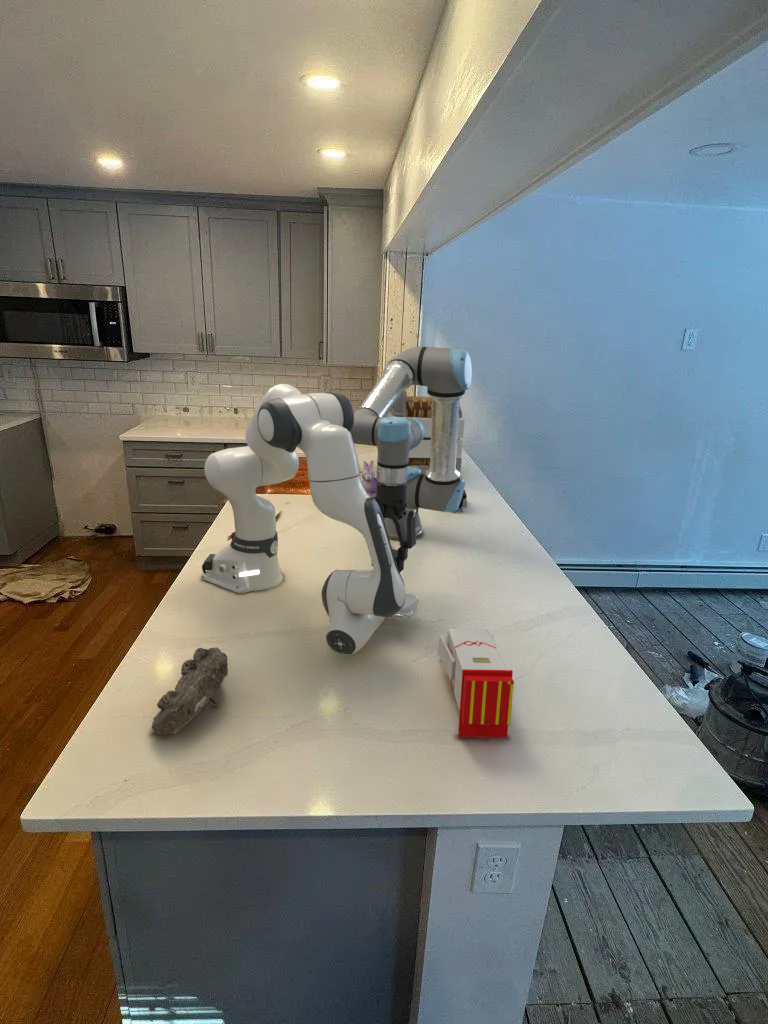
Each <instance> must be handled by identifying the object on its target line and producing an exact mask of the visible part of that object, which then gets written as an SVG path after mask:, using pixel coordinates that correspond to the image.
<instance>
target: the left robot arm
mask: <svg viewBox="0 0 768 1024" xmlns="http://www.w3.org/2000/svg"><path fill="white" fill-rule="evenodd" d="M354 413H355V411H354V407H353V405H352V403H351V401H350V399H349V398H348V397H347V396H346V395H345V394H343V393H339V392H333V391H326V392H307V393H302V392H301V391H300V390H299V389H298V388H297V387H296V386H293V385H291V384H287V383H278V384H276V385H273V386H272V387H270V388H269V389H268V391H266V393H265V394H264V395H263V397H262V398H261V400H260V401H259V402H258V404H257V406H256V408H255V409H254V411H253V413H252V416H251V418H250V420H249V423H248V424H247V425H248V426H247V427H246V430H245V442H246V445H247V446H245V445H244V446H238V447H237V446H236V447H229V448H228V447H227V448H225V449H221V450H218V451H216V452H213V453H210V454H209V455H208V456H207V458H206V460H205V462H204V469H203V471H204V476H205V479H206V481H207V483H208V484H209V485H210V486H211V487H212V488H213V489H214V490H216V491H218V492H219V493H221V494H222V495H224V497H226V499H227V500H228V502H229V503H230V506H231V508H232V514H233V519H234V520H233V521H234V531H233V532H232V533H231V534H230V535H228V536H226V538H227V540H226V541H227V542H228V541H230V543H229V544H228V545H227V546H225V547H223V548H222V549H221V550H220V551H219V552H217V553H209V555H208V556H207V557H206V558H205V559H204V561H203V563H202V565H201V570H202V573H203V578H202V579H203V580H204V581H206V582H209V583H211V584H214V585H216V586H219V587H222V588H224V589H226V590H230V591H232V592H234V593H237V594H244V593H245V594H246V593H249V592H253V591H254V592H255V591H264V590H268V589H271V588H274V587H276V586H278V585H279V584H281V582H282V581H283V579H284V576H283V574H282V570H281V567H280V561H279V556H278V551H279V537H278V531H277V522H276V521H277V519H276V516H277V514H276V509H275V506H274V504H273V503H272V502H271V501H270V500H268V499H266V498H265V497H262V496H258V494H257V491H256V490H257V488H258V487H264V486H270V485H277V484H280V483H284V482H286V481H289V480H291V479H293V478H295V477H296V475H297V473H298V472H299V468H300V458H299V455H298V452H297V451H296V449H297V448H298V449H300V450H301V451H302V452H303V453H304V456H305V459H306V465H307V473H308V474H307V477H308V485H309V491H310V496H311V499H312V502H313V504H314V506H315V507H316V509H317V510H318V511H319V512H320V513H322V514H323V515H325V516H326V517H328V518H330V519H332V520H334V521H337V522H341V523H342V524H345V525H348V526H349V527H351V528H353V529H355V530H356V531H358V533H360V534H361V535H362V538H364V540H365V543H366V546H367V550H368V552H369V556H370V560H371V565H372V564H373V566H372V567H373V570H362V569H361V570H358V569H334V570H333V571H332V572H330V574H329V575H328V576H327V577H326V580H325V581H324V582H323V586H322V587H321V602H322V606H323V608H324V611H325V612H326V615H327V617H328V625H327V627H326V631H325V641H326V644H327V646H328V647H329V648H330V649H331V650H332V651H333V652H335V653H337V654H339V655H345V656H350V655H353V654H356V653H358V652H359V651H360V650H361V649H362V648H363V647H364V646H365V645H366V644H367V643H368V641H370V639H371V637H372V636H373V634H374V632H375V631H377V629H378V628H379V627H380V626H381V624H382V623H383V621H384V620H385V618H387V619H389V618H392V619H397V620H404V621H405V620H407V619H410V618H411V617H412V616H413V615H414V614H415V613H416V612H417V610H418V607H419V599H418V598H419V597H418V596H417V595H414V594H410V593H407V592H406V586H405V582H404V579H403V577H402V573H401V572H399V570H398V567H397V564H396V561H395V557H394V554H393V550H392V549H393V546H392V543H391V539H390V538H389V536H388V532H387V528H386V525H385V522H384V518H383V515H382V512H381V510H380V507H379V505H378V503H377V502H376V501H375V499H373V498H370V497H369V495H368V494H367V492H366V491H365V489H364V487H363V484H362V481H363V480H362V476H361V470H360V463H359V458H358V454H357V450H356V446H355V444H354V442H353V439H352V436H351V434H350V431H351V429H352V427H353V423H354Z"/></svg>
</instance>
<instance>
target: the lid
mask: <svg viewBox="0 0 768 1024" xmlns="http://www.w3.org/2000/svg"><path fill="white" fill-rule="evenodd" d="M392 550H393V554H394V557H395V561H396V563H397V552H398V549H395V548H392Z"/></svg>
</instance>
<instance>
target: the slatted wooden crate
mask: <svg viewBox="0 0 768 1024" xmlns="http://www.w3.org/2000/svg"><path fill="white" fill-rule="evenodd" d="M407 394H408V393H407V389H406V390H403V392H402V393H401V395H400V396H399V398H398V399H397V401H396V402H395V404H394V405H393V407H392V408H391V410H390V411H389V413H388V414H387V416H386V417H402V418H415V419H417V420H419V421H420V422H421V423H422V425H423V427H424V430H425V434H424V438H423V440H422V441H421V442H420V444H419V445H418V446H417V447H415V448H413V449H411V450H410V451H409V459H408V467H417V466H418V467H430V448H431V415H432V398H431V397H430V396H415V395H414V396H413V395H412V396H411V395H407ZM464 429H465V419H464V418H463V411H462V408H461V405H460V404H459V420H458V438H457V456H456V469H457V470H458V471H459V472H460V475H461V472H462V461H463V460H462V453H463V442H464V441H463V440H462V439H463V438H464V431H465V430H464Z"/></svg>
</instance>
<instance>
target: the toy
mask: <svg viewBox="0 0 768 1024" xmlns="http://www.w3.org/2000/svg"><path fill="white" fill-rule="evenodd" d="M446 640H447V643H446V641H445V639H444V636H443V635H442V634H439V637H438V646H437V656H438V657H439V659H440V661H441V663H442V666H443V668H444V670H445V672H446V674H447V677H448V679H449V681H450V684H451V687H452V690H453V693H454V697H455V701H456V705H457V708H458V711H459V714H458V715H459V716H458V730H457V731H458V732H457V737H458V738H508V731H509V726H510V725H511V717H512V707H513V697H514V696H513V695H514V684H515V680H514V679H513V673H514V671H513V670H512V669H508V667H507V665H506V662H505V661H504V659H503V658H502V655H501V653H500V651H499V649H498V647H497V643H496V639H495V637H494V635H493V634H491V632H490V631H489V629H467V628H466V629H465V628H463V629H461V628H460V629H459V628H448V630H447V639H446Z"/></svg>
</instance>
